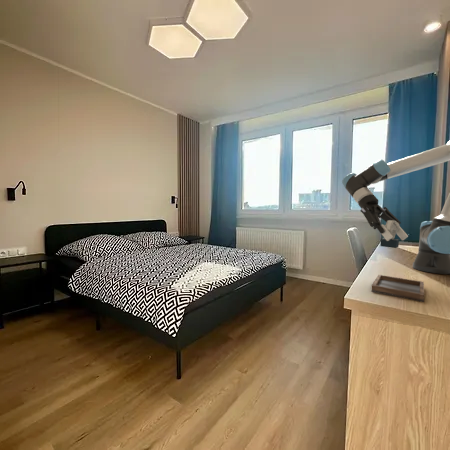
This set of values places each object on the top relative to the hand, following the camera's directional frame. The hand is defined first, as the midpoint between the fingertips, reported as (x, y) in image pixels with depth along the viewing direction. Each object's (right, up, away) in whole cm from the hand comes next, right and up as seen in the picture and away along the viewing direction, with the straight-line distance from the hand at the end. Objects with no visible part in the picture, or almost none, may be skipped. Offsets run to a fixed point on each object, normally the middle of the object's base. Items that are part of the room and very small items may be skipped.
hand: (397, 238), depth 99 cm
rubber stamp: (-1, -4, +3) cm, 5 cm away
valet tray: (-9, -17, -12) cm, 23 cm away
